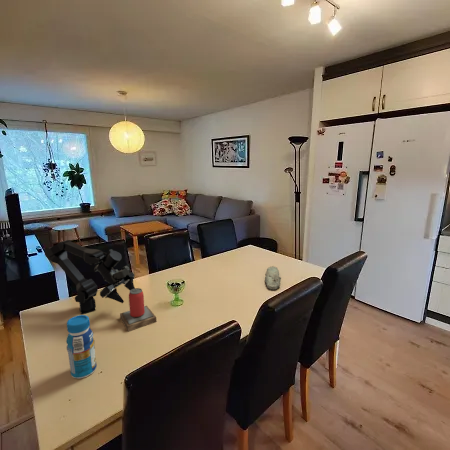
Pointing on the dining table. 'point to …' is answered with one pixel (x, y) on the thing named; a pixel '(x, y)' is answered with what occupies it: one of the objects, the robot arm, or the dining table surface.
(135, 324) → the walnut stand
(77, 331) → the beverage bottle
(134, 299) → the beer can
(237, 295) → the dining table surface
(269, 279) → the long grey stone
